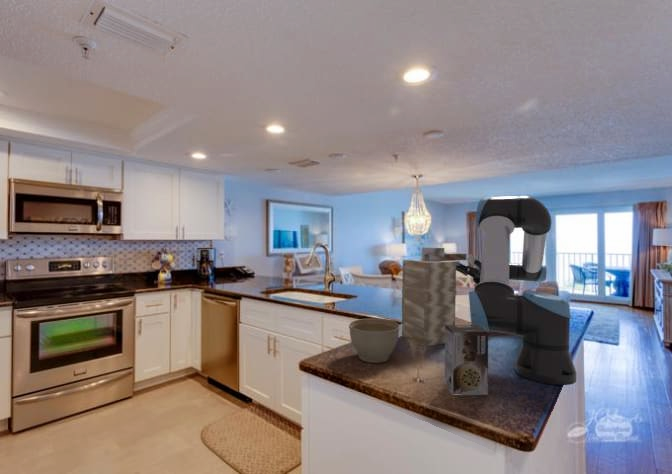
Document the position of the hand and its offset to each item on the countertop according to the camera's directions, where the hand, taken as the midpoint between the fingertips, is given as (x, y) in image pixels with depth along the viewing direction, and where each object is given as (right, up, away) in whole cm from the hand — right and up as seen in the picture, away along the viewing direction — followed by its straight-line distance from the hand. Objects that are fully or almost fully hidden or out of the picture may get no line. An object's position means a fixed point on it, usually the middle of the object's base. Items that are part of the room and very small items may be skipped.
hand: (455, 256), depth 140 cm
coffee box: (-15, -32, -51) cm, 62 cm away
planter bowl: (-36, -31, -29) cm, 56 cm away
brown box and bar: (-5, -1, -3) cm, 6 cm away
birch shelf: (-12, -31, -6) cm, 34 cm away
